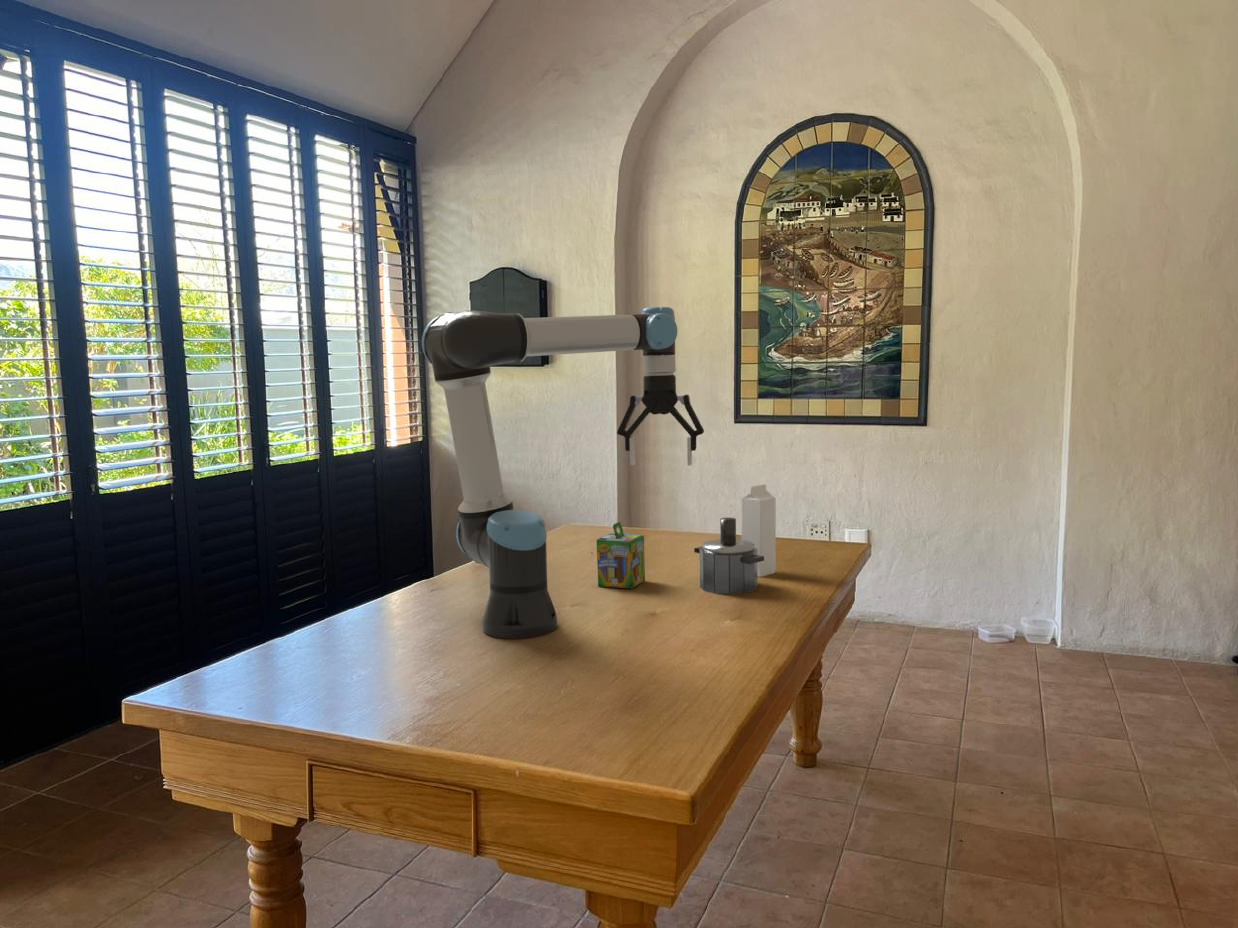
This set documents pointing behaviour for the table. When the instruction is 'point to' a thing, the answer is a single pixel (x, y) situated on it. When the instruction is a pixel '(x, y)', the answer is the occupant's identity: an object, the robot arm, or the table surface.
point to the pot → (728, 572)
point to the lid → (728, 541)
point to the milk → (761, 526)
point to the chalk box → (620, 559)
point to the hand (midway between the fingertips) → (661, 464)
